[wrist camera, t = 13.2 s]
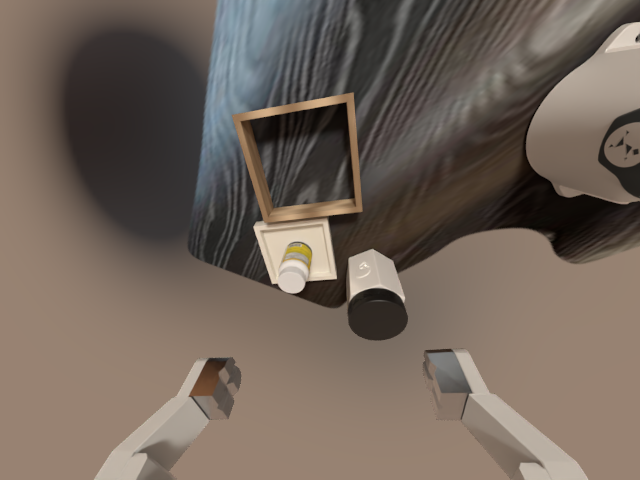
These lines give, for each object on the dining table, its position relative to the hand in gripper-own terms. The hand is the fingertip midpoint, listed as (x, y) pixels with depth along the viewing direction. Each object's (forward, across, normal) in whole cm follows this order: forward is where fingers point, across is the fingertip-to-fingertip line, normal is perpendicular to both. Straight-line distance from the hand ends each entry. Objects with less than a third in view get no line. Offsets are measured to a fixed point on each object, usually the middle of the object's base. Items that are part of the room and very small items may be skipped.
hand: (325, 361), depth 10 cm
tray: (+29, -8, -12) cm, 32 cm away
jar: (+29, +4, -18) cm, 35 cm away
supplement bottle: (+29, -8, -12) cm, 32 cm away
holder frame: (+29, -4, +2) cm, 29 cm away
